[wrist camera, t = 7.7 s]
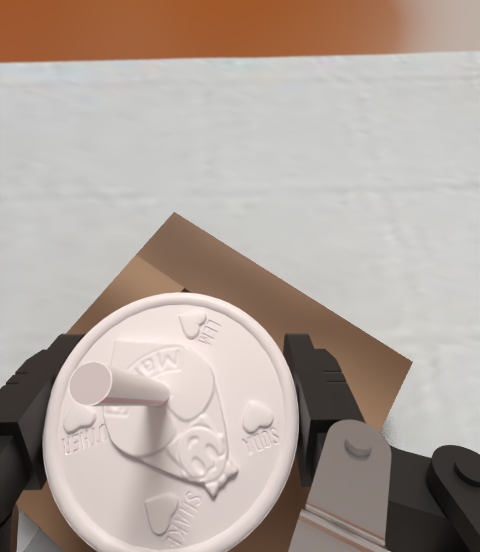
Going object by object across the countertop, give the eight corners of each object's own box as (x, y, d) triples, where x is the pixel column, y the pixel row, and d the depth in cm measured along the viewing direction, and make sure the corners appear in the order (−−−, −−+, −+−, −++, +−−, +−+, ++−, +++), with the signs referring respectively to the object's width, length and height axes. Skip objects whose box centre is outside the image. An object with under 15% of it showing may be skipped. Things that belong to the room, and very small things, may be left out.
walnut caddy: (239, 627, 14) (242, 720, 10) (29, 439, 17) (-39, 452, 13) (371, 371, 18) (412, 362, 14) (186, 250, 21) (174, 212, 17)
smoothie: (211, 323, 19) (166, 135, 6) (290, 414, 17) (481, 441, 4) (116, 403, 17) (-254, 396, 4) (193, 512, 15) (-9, 1103, 2)
